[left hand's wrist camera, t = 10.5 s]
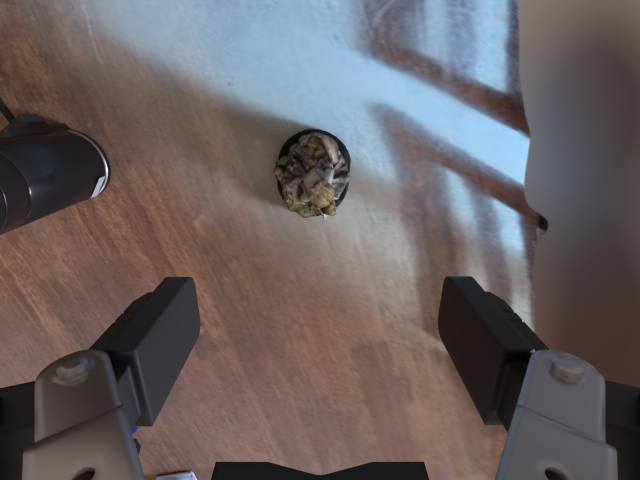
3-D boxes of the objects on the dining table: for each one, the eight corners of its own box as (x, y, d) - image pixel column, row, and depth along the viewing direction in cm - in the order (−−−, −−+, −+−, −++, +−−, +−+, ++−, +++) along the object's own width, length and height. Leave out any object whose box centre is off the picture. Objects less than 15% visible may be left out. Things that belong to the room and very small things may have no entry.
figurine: (298, 114, 45) (289, 119, 31) (369, 155, 47) (389, 178, 33) (259, 192, 49) (235, 227, 35) (326, 227, 51) (328, 274, 37)
